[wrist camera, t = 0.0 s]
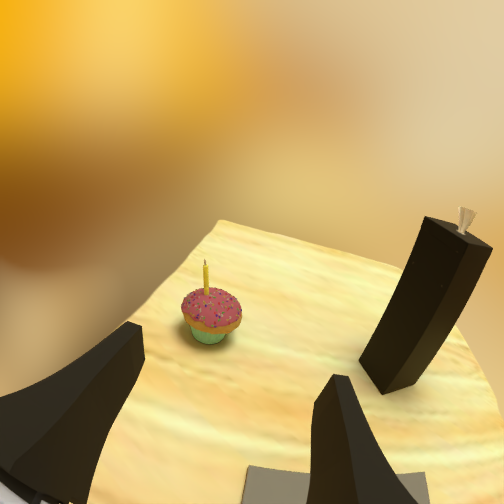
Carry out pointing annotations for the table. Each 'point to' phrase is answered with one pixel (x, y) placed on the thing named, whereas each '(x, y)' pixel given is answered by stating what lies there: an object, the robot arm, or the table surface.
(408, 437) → the table surface
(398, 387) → the black pillar candle
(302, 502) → the rubber mat
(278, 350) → the table surface
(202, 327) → the cupcake
